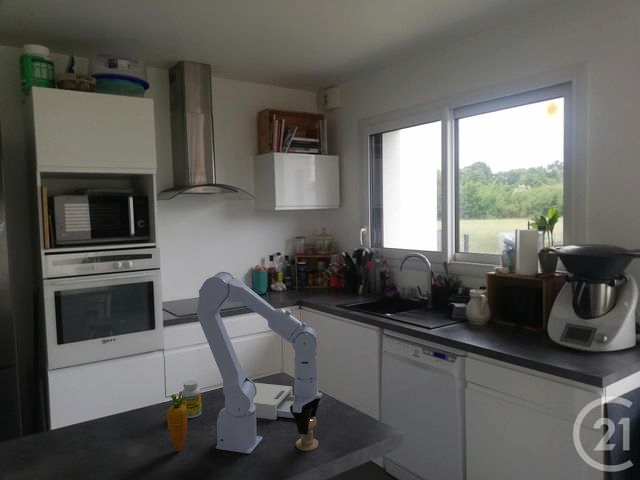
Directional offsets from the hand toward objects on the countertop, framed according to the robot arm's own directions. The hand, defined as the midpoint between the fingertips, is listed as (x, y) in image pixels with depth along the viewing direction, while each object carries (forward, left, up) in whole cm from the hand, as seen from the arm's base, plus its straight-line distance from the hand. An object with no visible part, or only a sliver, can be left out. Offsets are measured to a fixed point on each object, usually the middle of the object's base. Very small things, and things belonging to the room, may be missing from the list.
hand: (306, 428), depth 119 cm
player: (-20, +18, -4) cm, 27 cm away
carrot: (-30, -11, -5) cm, 32 cm away
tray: (-10, +18, -4) cm, 21 cm away
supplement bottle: (-38, +8, -5) cm, 39 cm away
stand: (0, 0, -4) cm, 4 cm away
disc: (0, 0, +1) cm, 1 cm away
